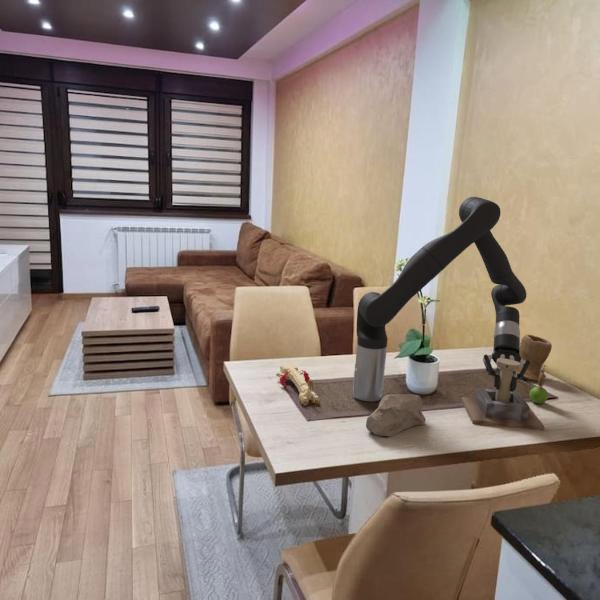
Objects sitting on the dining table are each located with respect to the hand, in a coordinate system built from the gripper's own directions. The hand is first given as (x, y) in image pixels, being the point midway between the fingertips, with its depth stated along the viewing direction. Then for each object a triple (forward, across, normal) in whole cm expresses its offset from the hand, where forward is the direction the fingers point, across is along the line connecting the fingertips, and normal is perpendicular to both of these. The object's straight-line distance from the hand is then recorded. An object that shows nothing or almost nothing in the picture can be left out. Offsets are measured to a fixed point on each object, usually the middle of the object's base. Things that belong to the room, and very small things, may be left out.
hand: (505, 389), depth 154 cm
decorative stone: (+19, -29, -6) cm, 36 cm away
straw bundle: (+9, -63, +5) cm, 63 cm away
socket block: (+5, 0, +8) cm, 9 cm away
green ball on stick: (-5, +13, +18) cm, 23 cm away
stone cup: (-23, +12, +36) cm, 44 cm away
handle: (+4, 0, +6) cm, 7 cm away
